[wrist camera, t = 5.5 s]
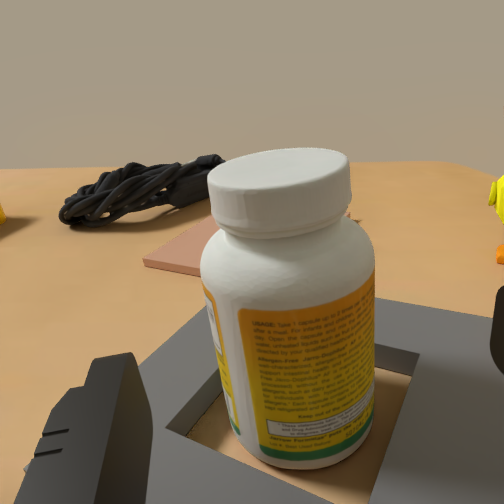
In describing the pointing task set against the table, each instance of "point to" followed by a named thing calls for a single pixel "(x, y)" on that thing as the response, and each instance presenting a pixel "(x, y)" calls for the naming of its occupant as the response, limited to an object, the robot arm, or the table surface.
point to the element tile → (2, 216)
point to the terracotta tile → (186, 249)
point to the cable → (139, 190)
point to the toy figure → (498, 210)
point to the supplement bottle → (291, 306)
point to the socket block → (403, 437)
